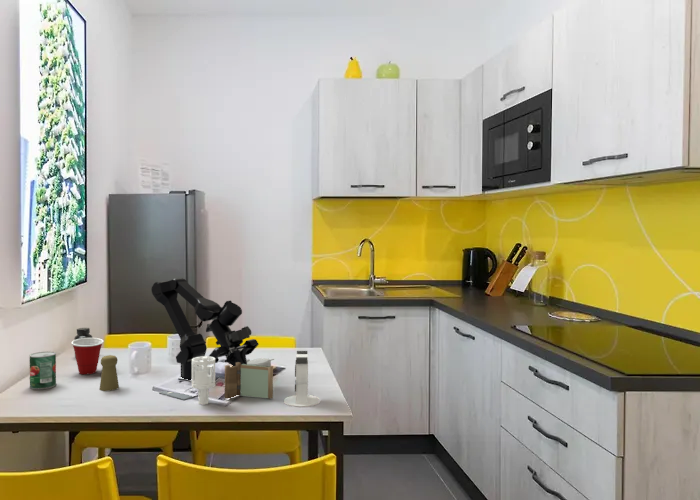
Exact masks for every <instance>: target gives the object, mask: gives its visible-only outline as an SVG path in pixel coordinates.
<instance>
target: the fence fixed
mask: <svg viewBox="0 0 700 500" xmlns="http://www.w3.org/2000/svg"><path fill="white" fill-rule="evenodd" d="M230 366H231V364H230V365H228V364H227V365H224V399H225V398H231V397H234V396H236V395H241V363H240V362H237V363H236V366H232V367H230Z"/></svg>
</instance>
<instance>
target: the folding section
mask: <svg viewBox="0 0 700 500" xmlns="http://www.w3.org/2000/svg"><path fill="white" fill-rule="evenodd" d="M240 397H251V398H252V397H253V398H261V399H262V398H263V399H269V400H270V399H273V397H274V366H272V365H271V366H261V365H249V364H241V396H240Z"/></svg>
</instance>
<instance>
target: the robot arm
mask: <svg viewBox="0 0 700 500" xmlns="http://www.w3.org/2000/svg"><path fill="white" fill-rule="evenodd" d="M151 294H152V295H153V297H154V299H155V300H156V301H157V302H158V303H160V304H161V305H162V306H163V307H164V308H165V310H166V312H167V314H168V316H169V318H170V320H171V322H172V324H173V327H174V329H175V331H176V332H177V334H178V336H179V339H180V341H179V349H180V351H179V352H178V354H177V355H176V356H175V361H176V363H177V364H180V377H182V378H184V379H188V380H191V379H192V359H193V358H196V357H202V356H206V352H207V349H208V348H207V342H206V341H205V339H204V337H203V334H202V333H195V332H194V330H193V329H192V327H191V325H190V322H189V321H188V319H187V316H186V314H185V313H184V310H183V309H182V306H181V305H180V303H179V300H178V295H180V296H181V297H182V298H183V299H184V300H185V301H186V302H187V303H188V304H189V305H190V306H192V307H193V308H194V313H195V315H196V316H197V318H198V319H199V320H200V321H201V322H210V321H211V322H210V323H207V325H206V328H205V332H206V333H210V332H211V333H212V335H213V336H214V338H215V339H216V342H215V344H216V346H217V347H215V348H213V350H212V351H211V352H210V354H209V355H208V356H209V357H214V358H215V364H217V363H219V358H222V357H225V360H224V363H226V364H227V363H228V364H230V366H231V365H233V366H236V363H237V362H240V363H241V364H247V361H246V359H247V356H248V355H251V354H252V353H253V352H254V350H256V348H257V347H259V342H258V341H257V339H255V338H252V339H250V337H251V335H252V330H251V328H250V327H249V326H248V325H247V326H244V327H242V328H240V329H238V330H232V328H230V327H231V326H233V325H234V324H235V322H236V321H238V319H239V318H240V317H241V315H242V314H243V309H242V307H241V306H240V305H238V304H236V303H233V302H232V300H226V301H224V303H223V305H222V306H220V304H219V303H217V302H216V301H214V300H211V299H208V298H206V297H204V296H203V295H202V294H201V293H200V292H199V291H198V290H196V289H195V288H194V287H193V286H192V285H191V284H189V282H188V281H187V280H186V278H183V277H180V278H179V277H178V278H173V279H171V280H165V281H156V282H154V283H153V285H152V286H151ZM246 339H248V340H246ZM244 340H245V341H244ZM243 342H244V343H243ZM241 344H242V345H241ZM218 345H219V346H218ZM208 361H210V360H208ZM197 366H199V365H197ZM188 380H187V381H188Z"/></svg>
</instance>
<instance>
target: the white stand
mask: <svg viewBox="0 0 700 500" xmlns="http://www.w3.org/2000/svg"><path fill="white" fill-rule="evenodd" d="M294 377H295V381H294V382H295V383H294V392H295V395H290V396H287V397H285V398H284V400H283V402H284V404H285V405H287V406H289V407H295V408H308V407H312V406H316V405H318V404H320V402H321V399H320V398H319V397H318V396H315V395H311V394H310V395H309V394H308V393H309V388H308V387H309V384H308V383H309V354H308V350H297V351H296V358H295V365H294Z"/></svg>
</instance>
